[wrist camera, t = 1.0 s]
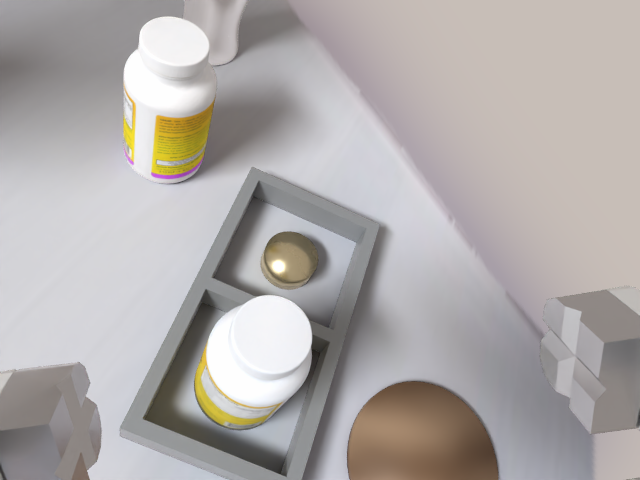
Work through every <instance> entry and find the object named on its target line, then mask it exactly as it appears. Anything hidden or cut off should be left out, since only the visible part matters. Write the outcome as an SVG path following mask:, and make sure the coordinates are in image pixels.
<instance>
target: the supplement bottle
mask: <svg viewBox="0 0 640 480" xmlns="http://www.w3.org/2000/svg"><path fill="white" fill-rule="evenodd" d="M209 52H210V43H209V40H208V38H207V36H206V34H205V33H204V32H203V31H202V30H201V29H200V28H199V27H198V26H197V25H195V24H194V23H192V22H190V21H188V20H185V19H181V18H177V17H159V18H155V19H152V20H150V21H149V22H147V23H146V24H145V25H144V26H143V28H142V29H141V31H140V36H139V46H138V49H137V50H135V51H134V52H133V53H132V54H131V55H130V57H129V58H128V60H127V62H126V64H125V68H124V130H123V144H124V154H125V157H126V160H127V162H128V164H129V165H130V167H131V168H132V169H133V170H134V171H135V172H136V173H137V174H139V175H140V176H142V177H144V178H145V179H148V180H150V181H153V182H157V183H164V184H169V183H177V182H181V181H184V180H186V179H188V178H189V177H191V176H192V175H194V174H195V173H196V172H197V170H198V169H199V168H200V166H201V164H202V161H203V158H204V153H205V148H206V143H207V137H208V132H209V127H210V122H211V116H212V111H213V106H214V101H215V96H216V90H217V78H216V74H215V71H214V69H213V67H212V65H211V64H210V62H209V61H208V58H209Z"/></svg>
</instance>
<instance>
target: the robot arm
mask: <svg viewBox="0 0 640 480" xmlns="http://www.w3.org/2000/svg"><path fill="white" fill-rule="evenodd" d="M543 321H544V322H545V323H546V324H547V326H548V327H549V328H550V329H549V331H548V332H547V333H546V335H545V336H544V337H543V338H542V340H541V345H540V360H541V364H542V369H543V372H544V374H545V376H546V379H547V381H548V382H549V384H550V385H551V386H552V388H553V389H554V390H555V391H556V392H558V393H560V394H562V395H565V396H567V397H569V398H570V402H569V409H570V410H571V411H572V412H573V414H574V415H575V416H576V417H577V419H578V420H579V421H580V422H581V423H582V425H583V426H584V427H585V428H586V430H587V431H588V432H589V433H590V434H597V433H604V432H612V431H619V430H627V429H634V428H639V431H640V290H638V289H637V288H635V287H630V286H623V287H617V288H612V289H606V290H601V291H596V292H589V293H583V294H577V295H570V296H564V297H558V298H552V299H548V300H547V302H546V304H545V307H544V314H543ZM89 385H90V380H89V377H88V374H87V371H86V368H85V366H83V365H82V364H81V363H80V362H77V363H68V364H60V365H51V366H43V367H34V368H26V369H19V370H8V371H1V372H0V480H90V479H89V476H88V472H87V470H88V469H89V468H90V467H91V466H92V465H94V464H95V463H96V462H97V459H98V455H99V452H100V448H101V432H102V430H101V422H100V415H99V412H98V408H97V405H96V404H95V403H94V402H92V401H91V400H90V399H88V398H87V397H86V394H87V391H88V388H89ZM628 480H640V478H634V479H628Z"/></svg>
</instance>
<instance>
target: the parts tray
mask: <svg viewBox="0 0 640 480" xmlns="http://www.w3.org/2000/svg"><path fill="white" fill-rule="evenodd" d="M253 196H254V197H256V198H258V199H260V200H263V201H265V202H267V203H269V204H272V205H274V206H276V207H278V208H281V209H283V210H285V211H287V212H290V213H292V214H294V215H296V216H298V217H301V218H303V219H305V220H307V221H310V222H312V223H314V224H316V225H319V226H321V227H323V228H325V229H328V230H330V231H332V232H334V233H337V234H339V235H341V236H343V237H345V238H348V239H350V240H352V241H354V242H357V243H356V246H355V249H354V252H353V255H352V258H351V261H350V264H349V267H348V270H347V273H346V276H345V279H344V282H343V285H342V288H341V291H340V294H339V298H338V301H337V304H336V307H335V310H334V313H333V316H332V319H331V322H330V325H329V328H328V327H325V326H323V325H321V324H318V323H316V322H314V321H311V320H309V319H308V320H309V322H310V325H311V329H312V345H311V349H313V350H316V351H318V352H320V355H319V358H318V361H317V364H316V367H315V370H314V373H313V376H312V379H311V382H310V386H309V389H308V392H307V395H306V398H305V401H304V404H303V407H302V410H301V413H300V416H299V419H298V422H297V425H296V428H295V431H294V434H293V437H292V440H291V443H290V446H289V449H288V452H287V455H286V458H285V461H284V464H283V467H282V470H281V473H280V474H278V473H275V472H273V471H270V470H268V469H265V468H263V467H260V466H258V465H255V464H253V463H251V462H248V461H246V460H243V459H241V458H238V457H236V456H233V455H231V454H228V453H226V452H223V451H221V450H218V449H216V448H213V447H211V446H208V445H206V444H203V443H201V442H198V441H196V440H193V439H191V438H188V437H186V436H183V435H181V434H178V433H176V432H173V431H171V430H168V429H166V428H164V427H161V426H159V425H156V424H154V423H151V422H149V421H146V420H145V418H146V416H147V414H148V412H149V410H150V407H151V405H152V403H153V401H154V399H155V397H156V395H157V393H158V391H159V389H160V387H161V385H162V383H163V381H164V379H165V377H166V375H167V372H168V370H169V368H170V366H171V364H172V362H173V360H174V358H175V356H176V354H177V352H178V350H179V348H180V346H181V344H182V342H183V339H184V337H185V335H186V333H187V331H188V329H189V327H190V325H191V323H192V321H193V319H194V317H195V315H196V313H197V311H198V309H199V306H200V304H201V302H203V303H205V304H208V305H210V306H212V307H215V308H217V309H219V310H222V311H224V312H229V311H230V310H232V309H234V308H235V307H238V306H240V305H243V304H245V303H246V302H248V301H249V300H251V299H253V298H256V296H253V295H251V294H249V293H246V292H244V291H242V290H239V289H237V288H235V287H232V286H230V285H228V284H225V283H223V282H221V281H218V280H216V279H214V276H215V274H216V271H217V269H218V267H219V265H220V263H221V261H222V259H223V257H224V255H225V253H226V251H227V249H228V247H229V245H230V243H231V241H232V238H233V236H234V234H235V232H236V230H237V228H238V226H239V224H240V222H241V220H242V218H243V216H244V214H245V212H246V210H247V208H248V206H249V203H250V201H251V199H252V197H253ZM379 226H380V224H378V223H376V222H374V221H372V220H369V219H367V218H365V217H363V216H360V215H358V214H356V213H354V212H352V211H349V210H347V209H345V208H343V207H341V206H338V205H336V204H334V203H332V202H329V201H327V200H325V199H323V198H321V197H318V196H316V195H314V194H312V193H310V192H307V191H305V190H303V189H301V188H298V187H296V186H294V185H292V184H290V183H287V182H285V181H283V180H281V179H279V178H276V177H274V176H272V175H270V174H267V173H265V172H263V171H261V170H259V169H256V168H254V167H252V168H251V170H250V172H249V174H248V176H247V178H246V180H245V182H244V184H243V186H242V188H241V190H240V192H239V194H238V196H237V198H236V199H235V201H234V203H233V205H232V207H231V209H230V211H229V213H228V215H227V217H226V219H225V221H224V223H223V225H222V227H221V229H220V231H219V233H218V235H217V237H216V239H215V241H214V243H213V245H212V247H211V249H210V251H209V253H208V255H207V257H206V259H205V261H204V263H203V265H202V267H201V269H200V271H199V273H198V275H197V277H196V279H195V281H194V282H193V284H192V286H191V288H190V290H189V292H188V294H187V296H186V298H185V300H184V302H183V304H182V306H181V308H180V310H179V312H178V314H177V316H176V318H175V320H174V322H173V324H172V326H171V328H170V330H169V332H168V334H167V336H166V338H165V340H164V342H163V344H162V346H161V348H160V350H159V352H158V354H157V356H156V358H155V360H154V362H153V364H152V366H151V367H150V369H149V371H148V373H147V375H146V377H145V379H144V381H143V383H142V385H141V387H140V389H139V391H138V393H137V395H136V397H135V399H134V401H133V403H132V405H131V407H130V409H129V411H128V413H127V415H126V417H125V419H124V421H123V423H122V425H121V427H120V436H121V437H123V438H126V439H128V440H131V441H133V442H136V443H138V444H141V445H143V446H146V447H149V448H151V449H154V450H156V451H159V452H161V453H164V454H166V455H169V456H171V457H174V458H176V459H179V460H181V461H184V462H186V463H189V464H191V465H194V466H196V467H199V468H201V469H204V470H206V471H209V472H211V473H214V474H216V475H219V476H221V477H224V478H226V479H229V480H302V477H303V473H304V470H305V467H306V464H307V460H308V457H309V454H310V451H311V447H312V444H313V441H314V438H315V434H316V431H317V428H318V425H319V421H320V418H321V415H322V412H323V408H324V405H325V402H326V399H327V395H328V392H329V389H330V386H331V382H332V379H333V376H334V373H335V369H336V366H337V363H338V360H339V356H340V353H341V350H342V347H343V343H344V340H345V337H346V334H347V330H348V327H349V324H350V321H351V317H352V314H353V311H354V308H355V304H356V301H357V298H358V295H359V291H360V288H361V285H362V282H363V278H364V275H365V272H366V269H367V265H368V262H369V259H370V256H371V252H372V249H373V246H374V243H375V239H376V236H377V233H378V230H379Z"/></svg>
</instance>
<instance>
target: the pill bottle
mask: <svg viewBox="0 0 640 480" xmlns="http://www.w3.org/2000/svg"><path fill="white" fill-rule="evenodd" d="M311 345H312V329H311V325H310V322H309V320H308V318H307V316H306V315H305V313H304V312H303V311H302V309H301V308H300V307H299V306H297V305H296V304H295V303H294V302H292V301H290V300H288V299H286V298H284V297H280V296H276V295H263V296H259V297H256V298H253V299H251V300H249V301H248V302H246V303H245V304H243V305H240V306H238V307H235V308H234V309H232V310H230V311H229V312H227V313H226V314H225V315H224V316H223V317H222V318H221V319H220V320H219V321H218V322H217V323H216V325H215V326H214V328H213V330H212V332H211V334H210V336H209V339H208V341H207V344H206V347H205V349H204V352H203V354H202V357H201V360H200V363H199V365H198V368H197V371H196V375H195V380H194V390H195V396H196V400H197V402H198V405H199V407H200V409H201V410H202V412H203V413H204V414H205V415H206V416H207V417H208V418H209V419H210V420H211V421H212V422H214V423H215V424H217V425H219V426H221V427H223V428H226V429H230V430H248V429H252V428H255V427H257V426H259V425H261V424H263V423H264V422H266V421H267V420H268V419H269V418H270V417H271V416H272V415H273V414H274V413H275V412H276V411H277V410H278V409H279V408H280V407H281V406H282V405H283V404H284V403H285V402H286V401H287V400H288V399H289V398H290V397H291V396H292V395H294V394H295V393H296V392H297V391H298V390H299V388H300V387H301V386H302V384H303V383H304V381H305V380H306V378H307V376H308V373H309V370H310V366H311V359H312V352H311Z"/></svg>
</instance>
